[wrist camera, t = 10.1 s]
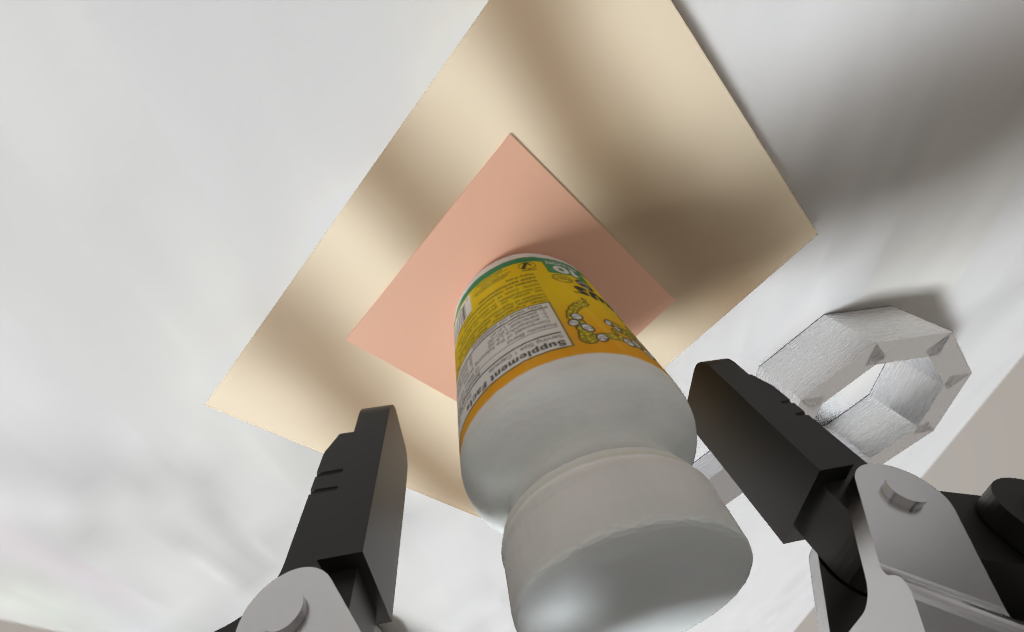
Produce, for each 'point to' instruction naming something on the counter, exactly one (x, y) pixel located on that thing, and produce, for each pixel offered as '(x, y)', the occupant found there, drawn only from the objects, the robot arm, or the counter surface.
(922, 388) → the ring
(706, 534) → the supplement bottle
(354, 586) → the robot arm
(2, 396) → the counter surface
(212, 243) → the counter surface
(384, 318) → the birch board
